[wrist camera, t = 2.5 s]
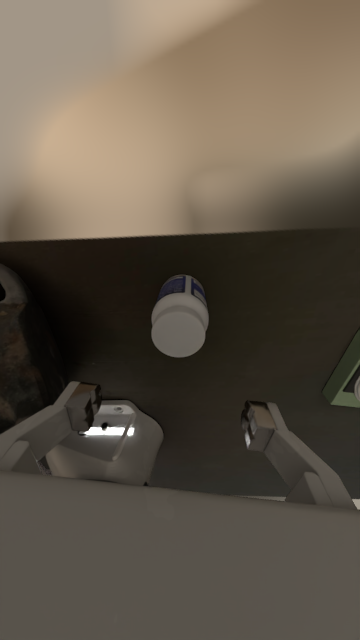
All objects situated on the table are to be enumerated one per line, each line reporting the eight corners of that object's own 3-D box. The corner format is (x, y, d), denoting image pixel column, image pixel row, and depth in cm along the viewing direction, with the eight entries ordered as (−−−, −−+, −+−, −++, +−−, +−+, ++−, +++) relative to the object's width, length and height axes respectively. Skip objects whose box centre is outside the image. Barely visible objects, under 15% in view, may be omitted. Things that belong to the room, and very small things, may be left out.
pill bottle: (157, 310, 27) (141, 356, 18) (164, 269, 24) (148, 299, 16) (199, 318, 27) (202, 367, 18) (209, 278, 25) (220, 313, 16)
